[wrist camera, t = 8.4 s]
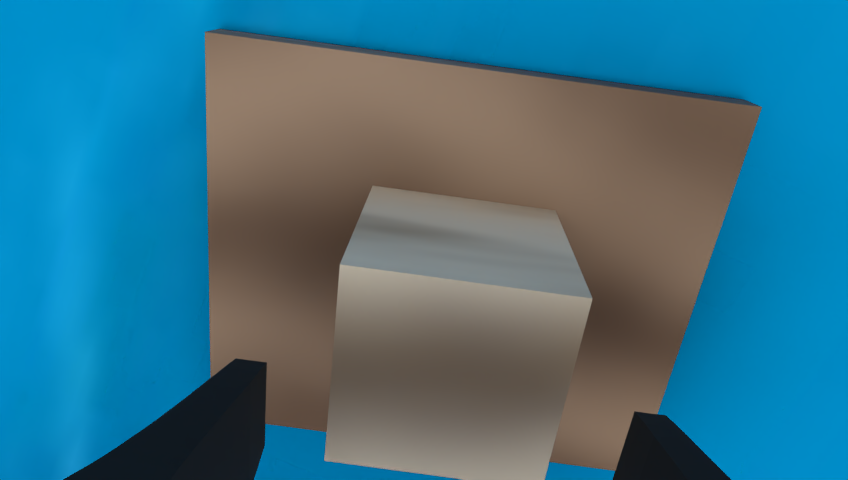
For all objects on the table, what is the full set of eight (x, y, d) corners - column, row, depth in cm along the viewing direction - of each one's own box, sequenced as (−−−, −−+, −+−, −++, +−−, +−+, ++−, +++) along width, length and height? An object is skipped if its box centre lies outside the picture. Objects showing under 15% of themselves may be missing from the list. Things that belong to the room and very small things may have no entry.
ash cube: (520, 363, 19) (541, 489, 14) (357, 341, 19) (324, 460, 14) (555, 210, 17) (592, 298, 12) (372, 185, 17) (339, 264, 12)
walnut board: (629, 451, 21) (636, 473, 20) (222, 397, 21) (211, 416, 20) (744, 100, 16) (761, 106, 15) (219, 28, 16) (204, 31, 15)
